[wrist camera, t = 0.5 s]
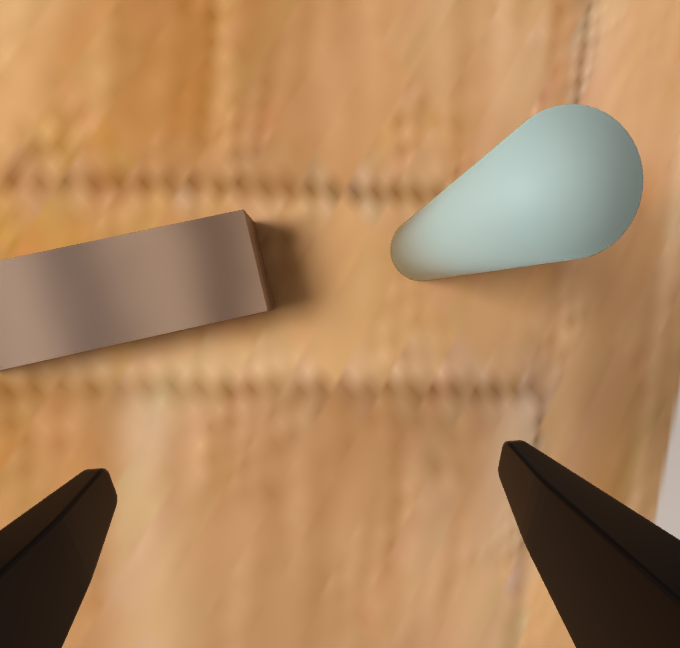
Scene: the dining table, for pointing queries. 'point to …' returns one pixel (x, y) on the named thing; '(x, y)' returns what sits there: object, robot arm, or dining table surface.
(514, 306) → the dining table surface
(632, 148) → the post
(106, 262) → the brown wooden block
